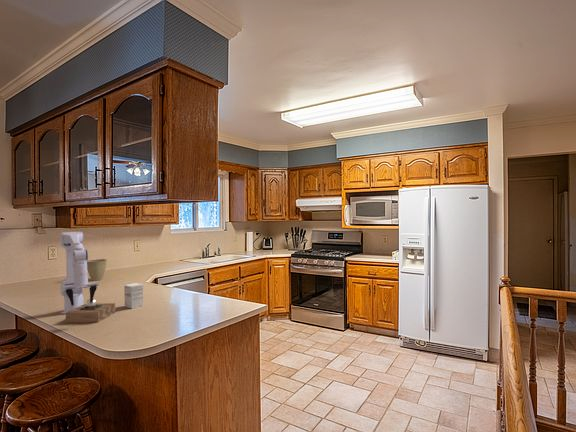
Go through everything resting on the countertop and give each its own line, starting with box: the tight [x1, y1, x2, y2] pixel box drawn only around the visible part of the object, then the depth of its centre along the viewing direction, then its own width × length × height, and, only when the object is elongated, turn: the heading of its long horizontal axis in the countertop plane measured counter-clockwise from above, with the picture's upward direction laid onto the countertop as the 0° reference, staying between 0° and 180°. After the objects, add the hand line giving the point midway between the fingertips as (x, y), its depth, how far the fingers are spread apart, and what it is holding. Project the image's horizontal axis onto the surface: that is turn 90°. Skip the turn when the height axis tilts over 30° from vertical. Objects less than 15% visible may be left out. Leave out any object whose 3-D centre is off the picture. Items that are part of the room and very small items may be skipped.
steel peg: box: [86, 298, 97, 308], centre depth 170 cm, size 4×4×5 cm
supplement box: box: [124, 282, 144, 310], centre depth 189 cm, size 7×7×13 cm
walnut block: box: [65, 302, 116, 324], centre depth 170 cm, size 16×16×6 cm
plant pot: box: [87, 258, 108, 282], centre depth 269 cm, size 15×15×16 cm
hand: (82, 303), depth 157 cm, fingers open, 7 cm apart
